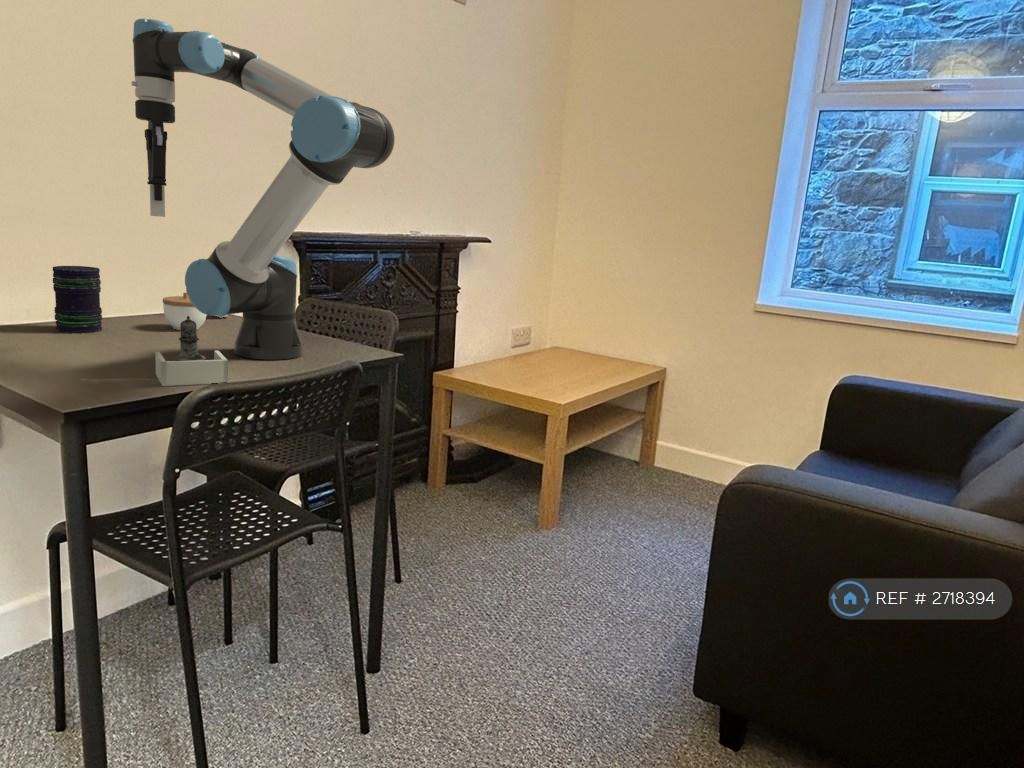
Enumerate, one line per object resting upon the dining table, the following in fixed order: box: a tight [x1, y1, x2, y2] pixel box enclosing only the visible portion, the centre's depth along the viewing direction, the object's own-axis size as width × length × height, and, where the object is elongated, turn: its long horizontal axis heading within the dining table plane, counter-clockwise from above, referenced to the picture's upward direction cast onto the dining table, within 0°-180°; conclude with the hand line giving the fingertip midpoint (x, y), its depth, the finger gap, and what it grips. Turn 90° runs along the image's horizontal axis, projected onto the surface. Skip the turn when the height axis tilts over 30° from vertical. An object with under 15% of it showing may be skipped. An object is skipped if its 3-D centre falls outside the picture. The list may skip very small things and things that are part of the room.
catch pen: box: [154, 350, 229, 387], centre depth 140 cm, size 12×9×4 cm
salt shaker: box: [172, 316, 206, 361], centre depth 142 cm, size 6×6×12 cm
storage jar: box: [52, 265, 103, 335], centre depth 173 cm, size 10×10×15 cm
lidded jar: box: [162, 292, 208, 331], centre depth 188 cm, size 11×11×9 cm
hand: (157, 216), depth 157 cm, fingers closed
